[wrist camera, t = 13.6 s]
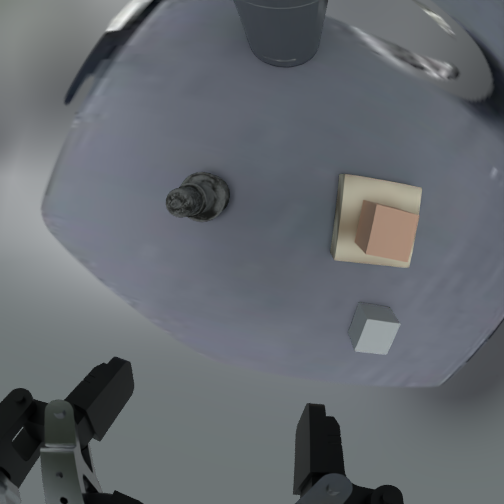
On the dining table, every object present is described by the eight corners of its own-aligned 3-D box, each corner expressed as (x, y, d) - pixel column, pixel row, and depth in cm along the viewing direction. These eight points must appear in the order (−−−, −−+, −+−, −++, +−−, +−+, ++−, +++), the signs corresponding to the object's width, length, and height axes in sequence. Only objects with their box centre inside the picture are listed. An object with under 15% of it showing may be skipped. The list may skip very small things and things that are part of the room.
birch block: (338, 174, 32) (345, 174, 28) (408, 186, 31) (421, 187, 27) (329, 251, 35) (334, 260, 31) (397, 258, 34) (408, 268, 30)
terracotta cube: (363, 199, 29) (376, 204, 24) (401, 209, 28) (419, 215, 24) (354, 242, 30) (365, 254, 25) (391, 249, 30) (407, 262, 25)
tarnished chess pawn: (203, 163, 34) (163, 159, 22) (241, 189, 34) (216, 195, 22) (180, 201, 35) (133, 213, 24) (215, 226, 36) (181, 250, 24)
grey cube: (358, 301, 36) (367, 318, 31) (389, 306, 36) (400, 323, 31) (348, 331, 37) (354, 351, 33) (377, 335, 37) (386, 354, 32)
